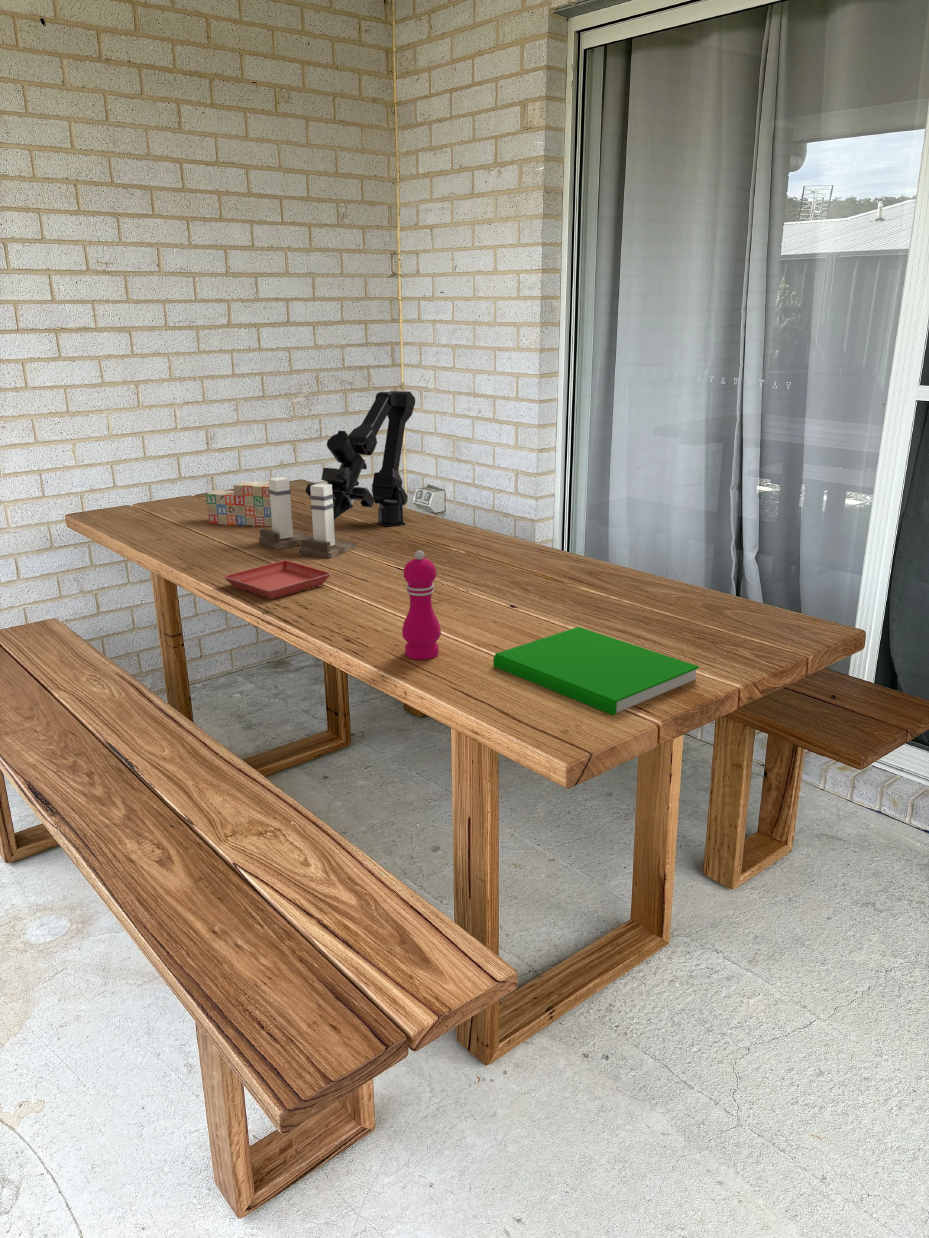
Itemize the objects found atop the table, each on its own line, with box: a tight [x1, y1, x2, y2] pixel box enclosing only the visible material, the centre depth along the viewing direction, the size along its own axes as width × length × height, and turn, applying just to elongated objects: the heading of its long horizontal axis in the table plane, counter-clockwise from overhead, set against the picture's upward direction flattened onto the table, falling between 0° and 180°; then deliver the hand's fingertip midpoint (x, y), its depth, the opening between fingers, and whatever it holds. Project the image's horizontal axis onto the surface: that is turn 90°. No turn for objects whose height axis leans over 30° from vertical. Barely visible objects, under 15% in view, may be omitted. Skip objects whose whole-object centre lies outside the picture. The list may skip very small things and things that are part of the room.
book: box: [492, 626, 700, 716], centre depth 165 cm, size 22×28×3 cm
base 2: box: [298, 539, 356, 559], centre depth 248 cm, size 12×10×4 cm
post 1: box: [268, 476, 294, 539], centre depth 254 cm, size 4×4×16 cm
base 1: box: [258, 528, 314, 550], centre depth 257 cm, size 12×10×4 cm
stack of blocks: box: [205, 481, 272, 527], centre depth 280 cm, size 21×6×12 cm, turn 77°
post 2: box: [309, 483, 336, 546], centre depth 244 cm, size 4×4×16 cm
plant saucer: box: [223, 560, 332, 600], centre depth 218 cm, size 18×18×3 cm
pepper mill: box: [401, 550, 442, 660], centre depth 172 cm, size 7×7×20 cm
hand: (328, 521), depth 247 cm, fingers closed
